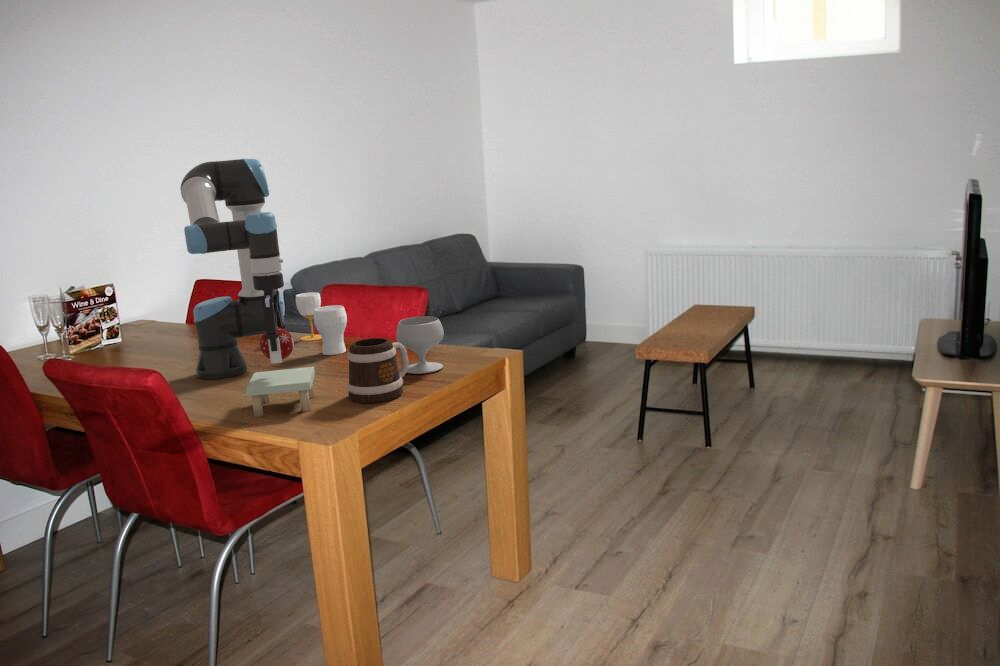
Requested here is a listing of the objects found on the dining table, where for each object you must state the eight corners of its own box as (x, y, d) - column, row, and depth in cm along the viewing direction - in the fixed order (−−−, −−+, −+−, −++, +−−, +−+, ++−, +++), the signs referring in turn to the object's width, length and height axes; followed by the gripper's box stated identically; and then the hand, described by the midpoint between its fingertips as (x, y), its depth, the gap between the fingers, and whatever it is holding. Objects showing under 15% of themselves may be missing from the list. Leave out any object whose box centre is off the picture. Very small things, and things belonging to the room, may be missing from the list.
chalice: (391, 375, 249) (386, 325, 246) (413, 362, 262) (408, 315, 259) (434, 376, 244) (429, 326, 241) (454, 363, 257) (450, 315, 253)
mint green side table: (249, 418, 218) (245, 388, 216) (258, 400, 233) (254, 372, 231) (313, 411, 219) (309, 382, 218) (317, 394, 235) (314, 366, 233)
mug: (373, 408, 219) (367, 351, 216) (336, 399, 229) (330, 345, 226) (428, 387, 234) (423, 334, 230) (391, 380, 243) (386, 329, 240)
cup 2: (322, 340, 302) (317, 295, 299) (297, 341, 302) (291, 297, 299) (328, 334, 311) (322, 291, 307) (303, 336, 311) (298, 293, 308)
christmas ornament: (267, 356, 228) (262, 320, 226) (299, 354, 227) (294, 318, 225) (258, 365, 219) (252, 327, 217) (290, 363, 219) (285, 325, 217)
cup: (333, 357, 275) (327, 312, 272) (311, 354, 282) (305, 310, 278) (357, 350, 283) (352, 306, 280) (335, 347, 290) (330, 304, 287)
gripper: (277, 278, 208) (289, 366, 213) (286, 266, 229) (297, 347, 234) (245, 280, 208) (258, 370, 212) (258, 269, 228) (269, 350, 233)
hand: (278, 358), depth 223 cm, fingers closed on christmas ornament, 9 cm apart
